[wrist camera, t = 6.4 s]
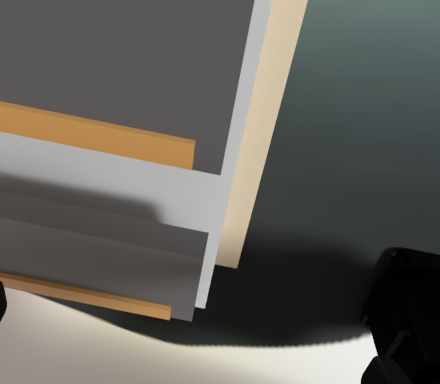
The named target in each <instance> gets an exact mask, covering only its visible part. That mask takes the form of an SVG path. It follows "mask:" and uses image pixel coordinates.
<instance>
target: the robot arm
mask: <svg viewBox="0 0 440 384" xmlns="http://www.w3.org/2000/svg"><path fill="white" fill-rule="evenodd" d="M405 257H408V258H407V259H403V258H405ZM6 308H7V301H6V296H5V291H4V285H3V283H2V281H0V321H1V319H2V317H3V315H4V314H5V311H6ZM364 308H365V309H364V311H363V313H362V315H361V317H360V321H361V324H362V326H363V327H364V328H368V329H371V333H372V336H373V339H374V343H375V347H376V350H377V354H378V356H376V357H374V358H373V359H372V361H371V362H370V364H369V365H368V367H367V368H366V370H365V372H364V373H363V375H362V378H361V384H440V256H436V255H431V254H426V253H421V252H416V251H411V250H400V251H398V252H397V253H396V254H395V256H394V257H393V259H392V261H391V263H390V265H389V266H388V268H387V270H386V272H385V274H384V275H383V277H382V278H381V279H380V280H379V281H378V283H377V284H376V286H375V288H374V290H373V292H372V293H371V295H370V297H369V299H368V301H367V302H366V304H365V306H364Z"/></svg>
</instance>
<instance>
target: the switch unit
mask: <svg viewBox="0 0 440 384" xmlns="http://www.w3.org/2000/svg"><path fill="white" fill-rule="evenodd" d="M307 2H308V0H255V2H254V7H253V12H252V17H251V22H250V27H249V32H248V38H247V43H246V48H245V53H244V58H243V63H242V69H241V74H240V79H239V84H238V89H237V94H236V99H235V105H234V110H233V115H232V120H231V125H230V130H229V135H228V141H227V146H226V151H225V156H224V161H223V166H222V170H221V175H215V174H210V173H205V172H200V171H195V170H188V169H183V168H178V167H173V166H168V165H163V164H158V163H153V162H148V161H143V160H139V159H134V158H129V157H124V156H119V155H114V154H109V153H104V152H99V151H94V150H89V149H84V148H79V147H74V146H69V145H64V144H59V143H54V142H49V141H44V140H39V139H34V138H29V137H24V136H19V135H14V134H9V133H4V132H0V191H4V192H9V193H14V194H19V195H23V196H28V197H33V198H38V199H43V200H48V201H53V202H58V203H63V204H68V205H73V206H78V207H83V208H88V209H93V210H98V211H103V212H108V213H113V214H118V215H123V216H128V217H133V218H138V219H143V220H148V221H153V222H158V223H163V224H168V225H173V226H178V227H183V228H188V229H193V230H198V231H202V232H207V233H209V235H208V240H207V245H206V251H205V256H204V261H203V266H202V272H201V277H200V282H199V287H198V293H197V298H196V303H195V307H199V308H204V309H205V306H206V301H207V297H208V292H209V287H210V283H211V278H212V274H213V269H214V265H215V264H216V265H221V266H226V267H231V268H236V269H237V266H238V262H239V259H240V255H241V251H242V247H243V243H244V240H245V236H246V232H247V228H248V225H249V221H250V217H251V213H252V209H253V206H254V202H255V198H256V194H257V191H258V187H259V183H260V179H261V175H262V172H263V168H264V164H265V160H266V157H267V153H268V149H269V145H270V141H271V138H272V134H273V130H274V126H275V123H276V119H277V115H278V111H279V107H280V104H281V100H282V96H283V92H284V89H285V85H286V81H287V77H288V73H289V70H290V66H291V62H292V58H293V55H294V51H295V47H296V43H297V39H298V36H299V32H300V28H301V24H302V21H303V17H304V13H305V9H306V5H307Z"/></svg>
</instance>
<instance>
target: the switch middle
mask: <svg viewBox="0 0 440 384" xmlns="http://www.w3.org/2000/svg"><path fill="white" fill-rule="evenodd" d="M254 2H255V0H0V132H4V133H9V134H14V135H19V136H24V137H29V138H34V139H39V140H44V141H49V142H54V143H59V144H64V145H69V146H74V147H79V148H84V149H89V150H94V151H99V152H104V153H109V154H114V155H119V156H124V157H129V158H134V159H139V160H143V161H148V162H153V163H158V164H163V165H168V166H173V167H178V168H183V169H188V170H195V171H200V172H205V173H210V174H215V175H221V170H222V166H223V161H224V156H225V151H226V146H227V141H228V135H229V130H230V125H231V120H232V115H233V110H234V105H235V99H236V94H237V89H238V84H239V79H240V74H241V69H242V63H243V58H244V53H245V48H246V43H247V38H248V32H249V27H250V22H251V17H252V12H253V7H254Z"/></svg>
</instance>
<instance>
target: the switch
mask: <svg viewBox="0 0 440 384" xmlns="http://www.w3.org/2000/svg"><path fill="white" fill-rule="evenodd" d="M208 235H209V233H207V232H202V231H198V230H193V229H188V228H183V227H178V226H173V225H168V224H163V223H158V222H153V221H148V220H143V219H138V218H133V217H128V216H123V215H118V214H113V213H108V212H103V211H98V210H93V209H88V208H83V207H78V206H73V205H68V204H63V203H58V202H53V201H48V200H43V199H38V198H33V197H28V196H23V195H19V194H14V193H9V192H4V191H0V281H2V283H3V285H4V287H7V288H12V289H16V290H21V291H26V292H31V293H36V294H41V295H46V296H51V297H56V298H61V299H66V300H71V301H76V302H81V303H86V304H91V305H96V306H101V307H106V308H111V309H116V310H121V311H126V312H131V313H136V314H141V315H146V316H151V317H156V318H161V319H166V320H170V317H171V318H176V319H181V320H186V321H191V322H192V318H193V313H194V308H195V303H196V298H197V293H198V287H199V282H200V277H201V272H202V266H203V261H204V256H205V251H206V245H207V240H208Z"/></svg>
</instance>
